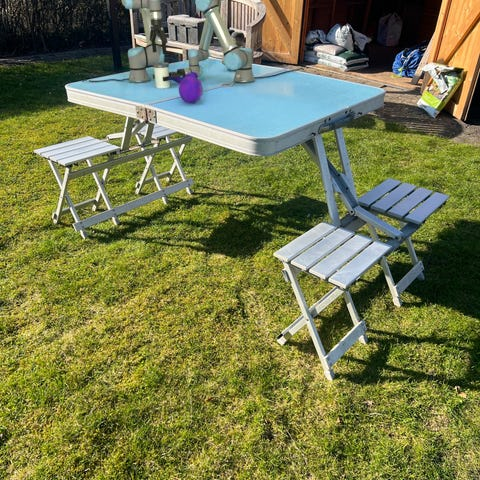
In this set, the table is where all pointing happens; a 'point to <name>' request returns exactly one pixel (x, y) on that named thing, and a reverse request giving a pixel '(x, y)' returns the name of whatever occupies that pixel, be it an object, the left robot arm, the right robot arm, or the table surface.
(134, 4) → the left robot arm
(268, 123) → the table surface
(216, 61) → the table surface
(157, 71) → the jar
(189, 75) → the toy
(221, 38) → the right robot arm
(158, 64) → the lid
